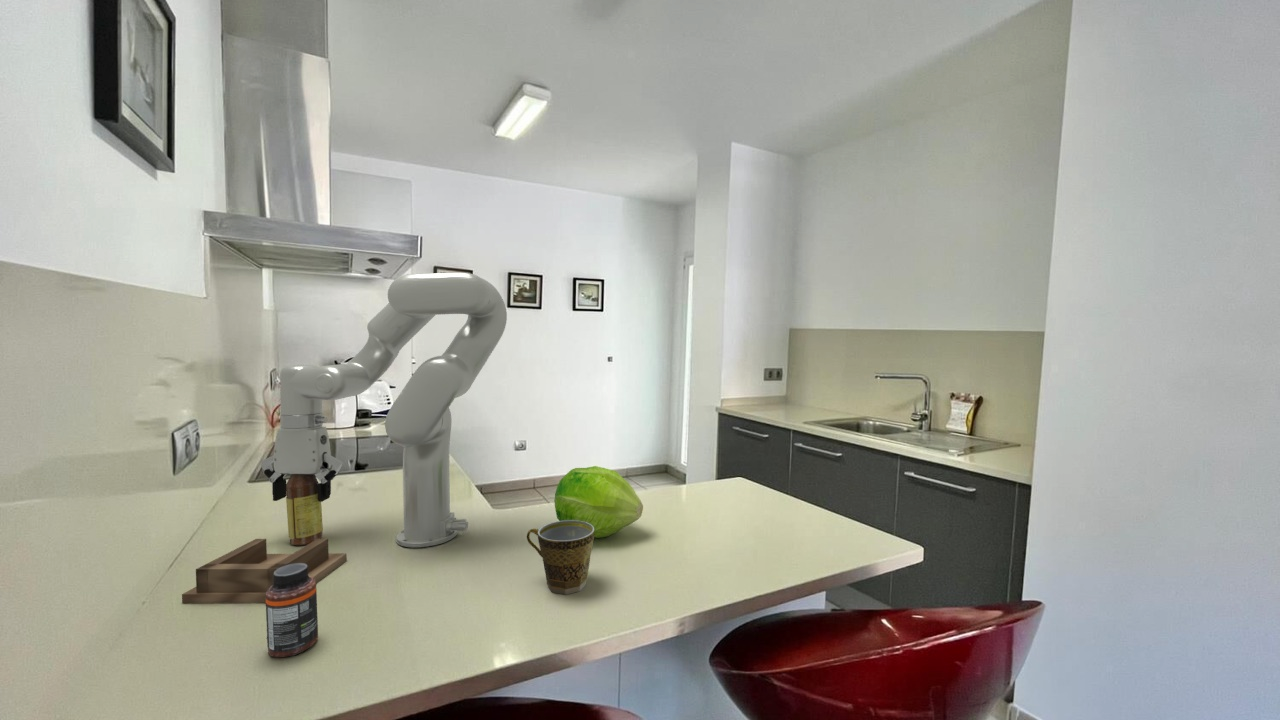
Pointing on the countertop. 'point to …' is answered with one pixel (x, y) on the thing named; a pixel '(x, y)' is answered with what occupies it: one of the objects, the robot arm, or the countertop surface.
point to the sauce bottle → (303, 509)
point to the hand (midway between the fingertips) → (301, 499)
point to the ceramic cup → (565, 554)
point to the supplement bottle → (291, 611)
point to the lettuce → (597, 500)
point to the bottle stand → (256, 572)
